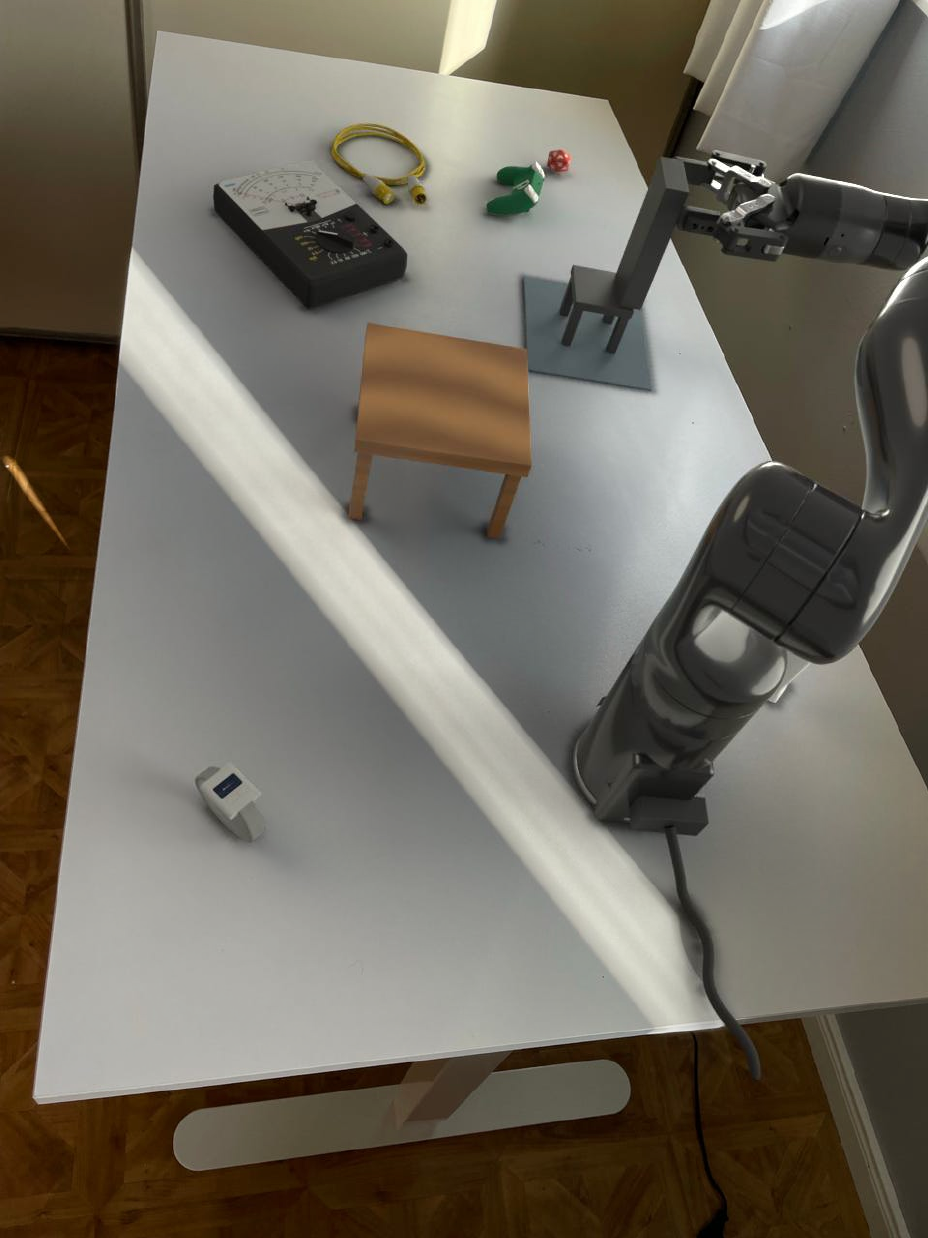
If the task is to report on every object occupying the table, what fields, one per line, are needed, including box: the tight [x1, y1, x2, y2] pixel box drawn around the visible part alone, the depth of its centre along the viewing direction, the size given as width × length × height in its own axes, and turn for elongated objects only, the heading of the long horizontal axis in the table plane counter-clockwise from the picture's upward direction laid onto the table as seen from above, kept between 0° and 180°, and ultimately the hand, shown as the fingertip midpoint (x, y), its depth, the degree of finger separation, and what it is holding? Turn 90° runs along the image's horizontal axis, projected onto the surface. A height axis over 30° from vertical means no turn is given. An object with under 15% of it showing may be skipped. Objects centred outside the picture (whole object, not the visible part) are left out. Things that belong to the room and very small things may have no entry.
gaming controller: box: [485, 161, 545, 216], centre depth 124 cm, size 9×4×6 cm
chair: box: [560, 156, 690, 354], centre depth 105 cm, size 7×6×20 cm
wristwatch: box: [194, 762, 266, 843], centre depth 71 cm, size 6×3×5 cm, turn 48°
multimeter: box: [212, 159, 408, 309], centre depth 110 cm, size 13×19×5 cm
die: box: [546, 148, 572, 174], centre depth 130 cm, size 3×3×3 cm
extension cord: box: [331, 122, 427, 206], centre depth 123 cm, size 12×16×2 cm
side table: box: [347, 322, 533, 539], centre depth 92 cm, size 15×15×10 cm
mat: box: [523, 276, 653, 391], centre depth 113 cm, size 16×14×1 cm
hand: (674, 191), depth 99 cm, fingers open, 8 cm apart
